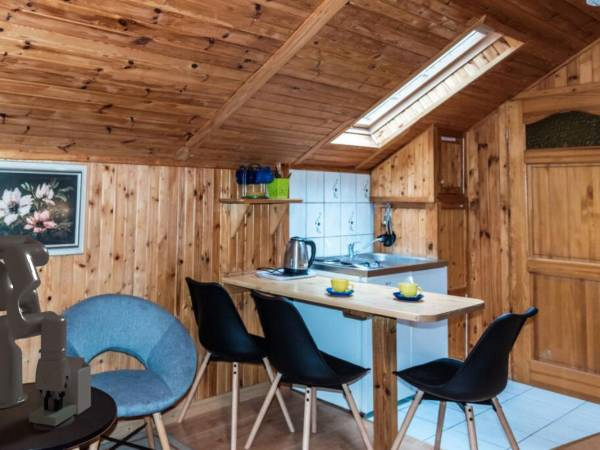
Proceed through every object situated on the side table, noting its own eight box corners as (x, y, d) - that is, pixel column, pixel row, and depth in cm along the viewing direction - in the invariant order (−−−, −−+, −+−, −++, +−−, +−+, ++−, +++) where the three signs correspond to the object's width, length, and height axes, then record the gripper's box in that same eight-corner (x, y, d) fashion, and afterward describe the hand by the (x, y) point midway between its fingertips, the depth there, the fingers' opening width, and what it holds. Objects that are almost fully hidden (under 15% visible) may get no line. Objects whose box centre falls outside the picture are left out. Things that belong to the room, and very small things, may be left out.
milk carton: (77, 416, 164) (77, 360, 163) (59, 414, 165) (59, 359, 165) (90, 407, 171) (90, 354, 170) (73, 405, 172) (72, 353, 172)
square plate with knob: (29, 421, 155) (29, 401, 155) (51, 409, 165) (51, 390, 164) (55, 425, 153) (55, 405, 153) (76, 412, 162) (76, 393, 162)
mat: (24, 429, 154) (24, 427, 154) (51, 413, 166) (51, 411, 166) (57, 433, 151) (57, 431, 151) (82, 417, 163) (82, 415, 163)
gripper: (23, 355, 156) (23, 410, 157) (67, 360, 152) (67, 417, 153) (40, 348, 163) (40, 401, 164) (83, 353, 159) (82, 407, 160)
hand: (53, 408), depth 159 cm, fingers closed on square plate with knob, 3 cm apart
